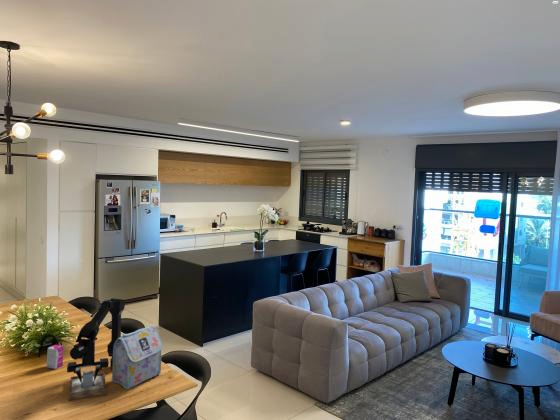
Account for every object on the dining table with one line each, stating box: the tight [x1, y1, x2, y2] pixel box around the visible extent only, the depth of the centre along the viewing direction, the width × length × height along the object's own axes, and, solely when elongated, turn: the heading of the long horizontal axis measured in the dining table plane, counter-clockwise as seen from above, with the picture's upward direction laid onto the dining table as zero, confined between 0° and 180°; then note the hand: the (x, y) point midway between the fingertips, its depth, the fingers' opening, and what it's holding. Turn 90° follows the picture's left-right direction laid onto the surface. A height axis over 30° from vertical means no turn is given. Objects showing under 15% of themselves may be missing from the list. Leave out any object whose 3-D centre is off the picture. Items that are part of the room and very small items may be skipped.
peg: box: [82, 369, 94, 388], centre depth 206 cm, size 4×4×8 cm
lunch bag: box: [111, 325, 163, 390], centre depth 218 cm, size 22×17×26 cm
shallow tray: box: [68, 372, 106, 401], centre depth 207 cm, size 16×18×4 cm
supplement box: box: [46, 344, 64, 371], centre depth 228 cm, size 6×6×12 cm
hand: (87, 381), depth 206 cm, fingers open, 6 cm apart
